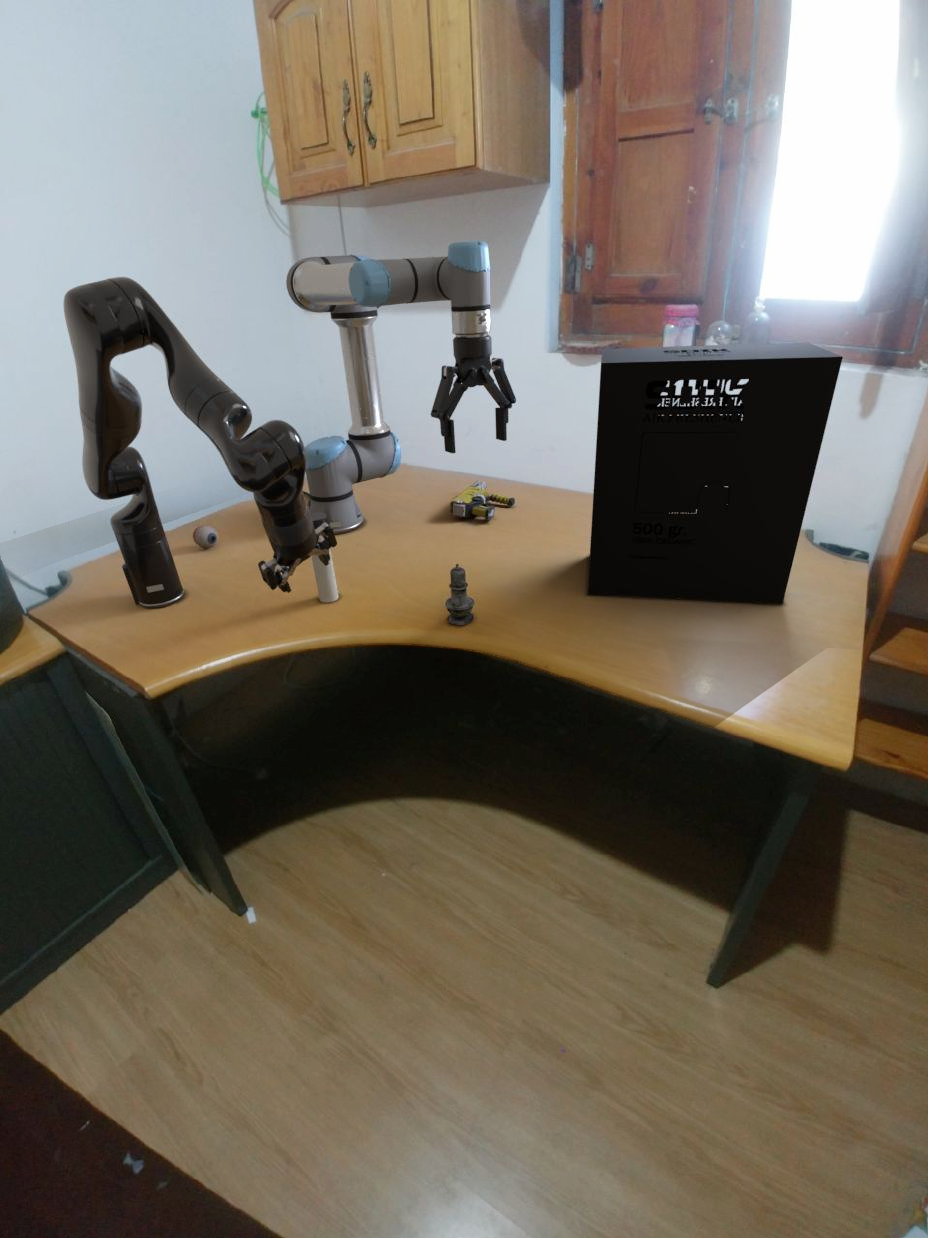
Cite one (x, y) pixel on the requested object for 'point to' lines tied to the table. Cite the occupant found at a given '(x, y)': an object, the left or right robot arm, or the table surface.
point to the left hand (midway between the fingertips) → (305, 575)
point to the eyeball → (205, 536)
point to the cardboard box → (705, 469)
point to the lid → (318, 518)
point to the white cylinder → (325, 578)
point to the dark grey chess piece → (459, 599)
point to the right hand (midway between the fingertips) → (476, 445)
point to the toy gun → (477, 502)
